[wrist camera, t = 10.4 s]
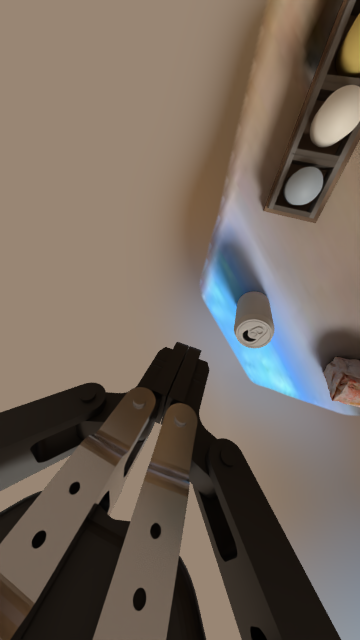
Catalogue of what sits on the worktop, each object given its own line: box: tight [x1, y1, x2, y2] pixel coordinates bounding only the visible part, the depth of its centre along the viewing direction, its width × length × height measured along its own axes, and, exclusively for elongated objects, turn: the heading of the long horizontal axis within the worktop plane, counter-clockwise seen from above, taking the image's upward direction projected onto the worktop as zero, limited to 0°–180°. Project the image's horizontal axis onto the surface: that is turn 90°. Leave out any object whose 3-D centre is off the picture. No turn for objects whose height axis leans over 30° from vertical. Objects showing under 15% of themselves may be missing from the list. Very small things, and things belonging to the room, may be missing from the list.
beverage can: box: [234, 291, 274, 348], centre depth 37 cm, size 6×6×12 cm
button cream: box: [310, 85, 360, 147], centre depth 22 cm, size 4×4×3 cm
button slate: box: [283, 167, 323, 205], centre depth 27 cm, size 4×4×3 cm
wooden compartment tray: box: [264, 0, 360, 223], centre depth 25 cm, size 20×8×5 cm, turn 169°
